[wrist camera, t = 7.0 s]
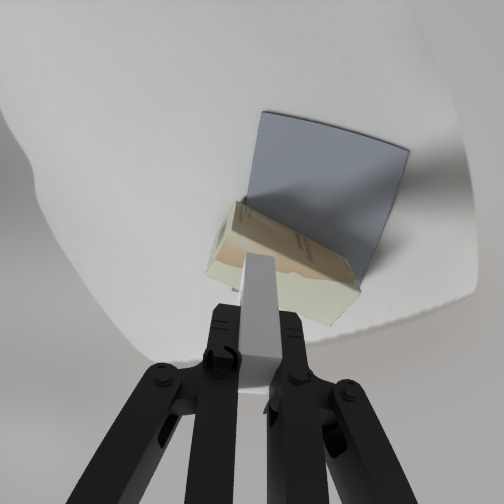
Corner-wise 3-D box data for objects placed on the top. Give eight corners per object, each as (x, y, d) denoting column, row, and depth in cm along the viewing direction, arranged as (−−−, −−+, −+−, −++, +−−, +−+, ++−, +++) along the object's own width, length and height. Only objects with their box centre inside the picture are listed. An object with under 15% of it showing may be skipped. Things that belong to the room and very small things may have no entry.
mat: (261, 111, 18) (261, 112, 18) (406, 150, 19) (408, 151, 19) (232, 288, 27) (231, 290, 26) (348, 302, 27) (349, 304, 27)
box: (235, 198, 21) (346, 255, 24) (212, 241, 23) (319, 288, 26) (230, 230, 17) (364, 293, 20) (203, 280, 19) (330, 329, 22)
